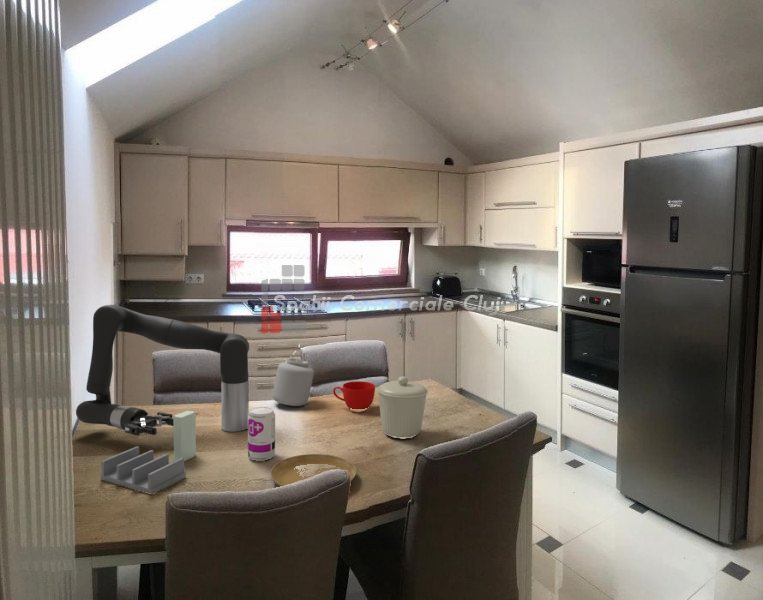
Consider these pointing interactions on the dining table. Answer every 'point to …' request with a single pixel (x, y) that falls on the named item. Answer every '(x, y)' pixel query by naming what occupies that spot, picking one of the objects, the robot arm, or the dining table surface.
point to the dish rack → (142, 470)
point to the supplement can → (261, 433)
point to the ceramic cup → (357, 394)
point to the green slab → (184, 435)
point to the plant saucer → (287, 475)
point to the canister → (402, 407)
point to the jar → (293, 382)
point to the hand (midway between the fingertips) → (166, 427)
